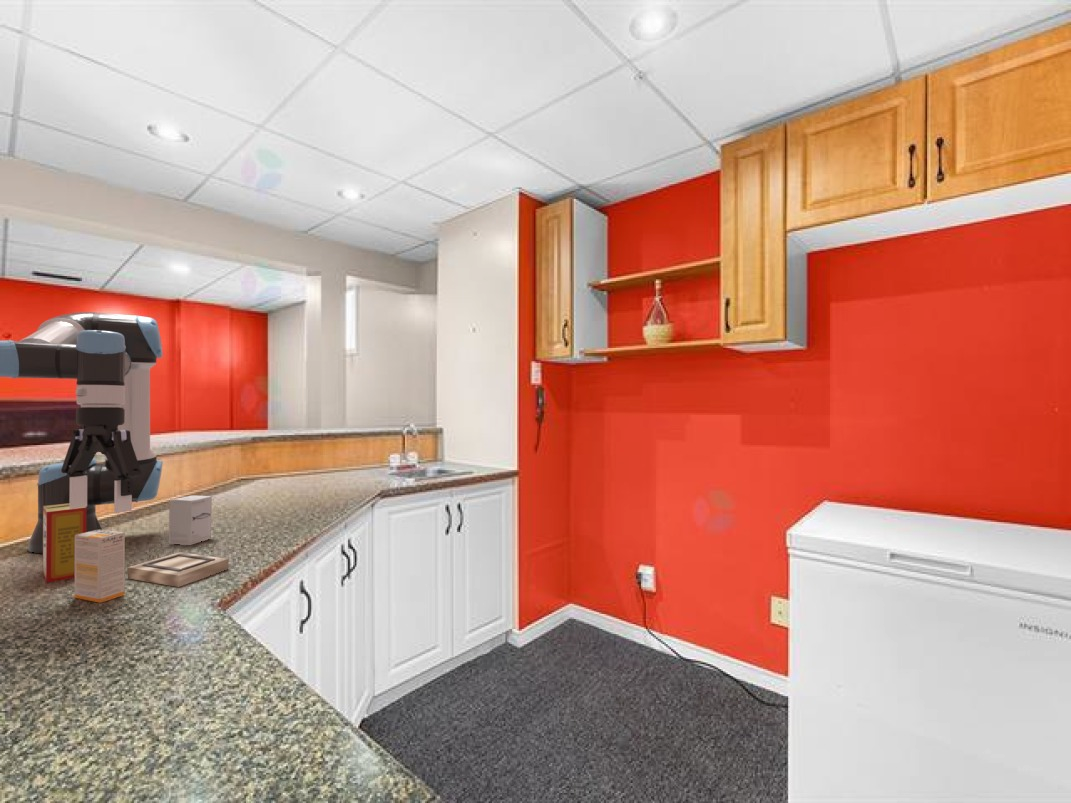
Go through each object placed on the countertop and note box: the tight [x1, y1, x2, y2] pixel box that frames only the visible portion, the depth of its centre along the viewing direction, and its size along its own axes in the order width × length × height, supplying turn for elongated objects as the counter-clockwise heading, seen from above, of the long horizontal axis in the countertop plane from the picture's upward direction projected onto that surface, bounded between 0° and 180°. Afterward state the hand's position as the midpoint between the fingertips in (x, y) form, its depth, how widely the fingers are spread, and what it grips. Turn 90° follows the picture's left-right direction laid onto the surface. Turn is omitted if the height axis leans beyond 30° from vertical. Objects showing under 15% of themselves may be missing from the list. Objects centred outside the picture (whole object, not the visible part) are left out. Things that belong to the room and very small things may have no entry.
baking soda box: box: [42, 503, 86, 584], centre depth 115 cm, size 10×6×16 cm
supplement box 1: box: [74, 529, 126, 604], centre depth 102 cm, size 8×5×13 cm, turn 71°
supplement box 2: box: [168, 495, 213, 546], centre depth 142 cm, size 7×7×13 cm
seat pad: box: [127, 551, 229, 588], centre depth 116 cm, size 16×12×3 cm
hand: (100, 509), depth 102 cm, fingers open, 13 cm apart
